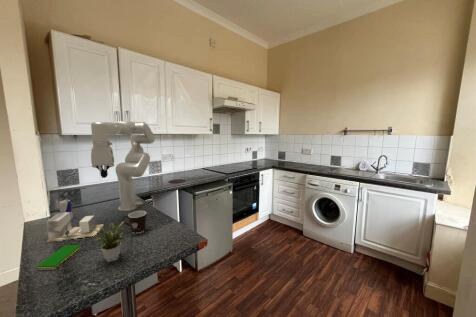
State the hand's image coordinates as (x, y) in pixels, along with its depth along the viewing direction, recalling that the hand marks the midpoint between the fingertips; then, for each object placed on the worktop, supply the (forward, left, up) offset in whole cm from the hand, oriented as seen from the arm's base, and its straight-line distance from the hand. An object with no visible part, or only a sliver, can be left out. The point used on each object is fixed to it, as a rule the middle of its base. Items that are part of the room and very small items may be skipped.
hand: (104, 177), depth 113 cm
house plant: (-12, +38, -27) cm, 48 cm away
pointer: (+13, +15, -26) cm, 33 cm away
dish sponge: (+8, +32, -28) cm, 43 cm away
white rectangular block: (+6, +11, -26) cm, 29 cm away
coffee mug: (-18, +15, -27) cm, 36 cm away
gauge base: (+11, +10, -27) cm, 31 cm away
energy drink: (+24, -8, -27) cm, 37 cm away
